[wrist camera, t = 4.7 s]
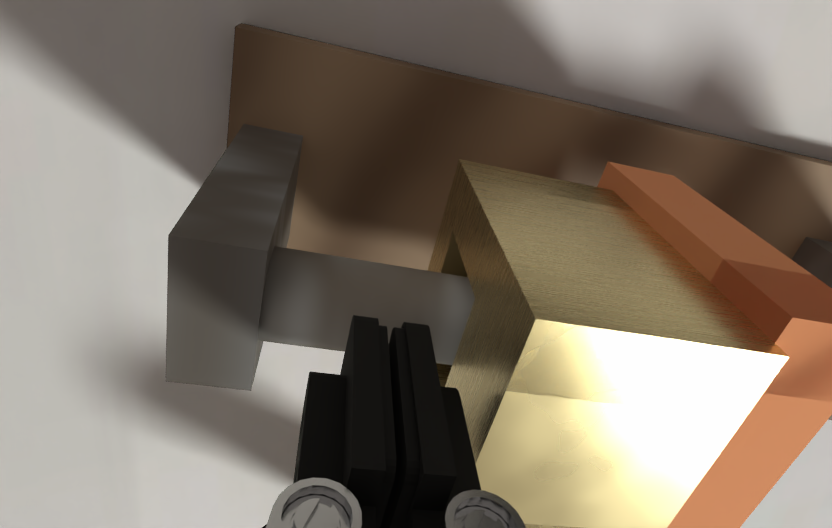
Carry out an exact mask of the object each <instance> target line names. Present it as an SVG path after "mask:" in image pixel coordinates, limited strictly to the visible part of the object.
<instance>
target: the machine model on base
mask: <svg viewBox="0 0 832 528" xmlns="http://www.w3.org/2000/svg"><path fill="white" fill-rule="evenodd" d="M459 159H462V160H467V161H472V162H476V163H481V164H486V165H491V166H496V167H501V168H506V169H511V170H516V171H521V172H525V173H530V174H535V175H540V176H545V177H550V178H555V179H560V180H565V181H570V182H574V183H579V184H584V185H589V186H594V187H597V186H598V184H599V181H600V179H601V176H602V174H603V172H604V169H605V167H606V165H607V162H613V163H618V164H622V165H627V166H632V167H636V168H641V169H646V170H650V171H655V172H660V173H664V174H669V175H674V176H675V177H676V178H678V179H679V180H681V181H682V182H683V183H685V184H686V185H688V186H689V187H690V188H692V189H693V190H695V191H696V192H697V193H699V194H700V195H702V196H703V197H704V198H706V199H707V200H709V201H710V202H711V203H713V204H714V205H716V206H717V207H718V208H720V209H721V210H723V211H724V212H725V213H727V214H728V215H730V216H731V217H732V218H734V219H735V220H737V221H738V222H739V223H741V224H742V225H744V226H745V227H746V228H748V229H749V230H751V231H752V232H753V233H755V234H756V235H758V236H759V237H760V238H762V239H763V240H765V241H766V242H767V243H769V244H770V245H772V246H773V247H775V248H776V249H777V250H779V251H780V252H782V253H783V254H784V255H786V256H787V257H789V258H790V259H791V260H793V261H794V262H796V263H797V264H798V265H800V266H801V267H803V268H804V269H805V270H807V271H808V272H810V273H811V274H812V275H814V276H815V277H817V278H818V279H819V280H821V281H822V282H824V283H825V284H826V285H828V286H829V287H831V288H832V162H829V161H825V160H820V159H816V158H812V157H808V156H803V155H799V154H795V153H791V152H786V151H782V150H778V149H774V148H769V147H765V146H761V145H757V144H752V143H748V142H744V141H740V140H735V139H731V138H727V137H723V136H718V135H714V134H710V133H706V132H701V131H697V130H693V129H689V128H684V127H680V126H676V125H672V124H667V123H663V122H659V121H655V120H650V119H646V118H642V117H638V116H633V115H629V114H625V113H621V112H616V111H612V110H608V109H604V108H599V107H595V106H591V105H587V104H582V103H578V102H574V101H570V100H565V99H561V98H557V97H553V96H548V95H544V94H540V93H536V92H531V91H527V90H523V89H519V88H514V87H510V86H506V85H502V84H497V83H493V82H489V81H485V80H480V79H476V78H472V77H468V76H463V75H459V74H455V73H451V72H446V71H442V70H438V69H434V68H429V67H425V66H421V65H417V64H412V63H408V62H404V61H400V60H395V59H391V58H387V57H383V56H378V55H374V54H370V53H366V52H361V51H357V50H353V49H349V48H344V47H340V46H336V45H332V44H327V43H323V42H319V41H315V40H310V39H306V38H302V37H298V36H293V35H289V34H285V33H281V32H276V31H272V30H268V29H264V28H259V27H255V26H251V25H247V24H242V23H241V24H239V25H238V26H236V27H235V38H234V53H233V67H232V81H231V95H230V109H229V123H228V137H227V150H226V151H225V152H224V154H223V155H222V157H221V158H220V160H219V161H218V163H217V164H216V166H215V167H214V169H213V170H212V172H211V173H210V175H209V176H208V178H207V179H206V181H205V182H204V184H203V185H202V187H201V188H200V190H199V191H198V192H197V194H196V195H195V197H194V198H193V200H192V201H191V203H190V204H189V206H188V207H187V209H186V210H185V212H184V213H183V215H182V216H181V218H180V219H179V221H178V222H177V224H176V225H175V227H174V228H173V229H172V231H171V232H170V234H169V238H168V289H167V339H166V381H168V382H177V383H186V384H195V385H205V386H214V387H223V388H232V389H241V390H250V391H251V389H252V385H253V381H254V377H255V373H256V368H257V364H258V360H259V356H260V352H261V348H262V344H263V341H267V342H274V343H282V344H290V345H298V346H306V347H314V348H321V349H329V350H337V351H345V350H346V345H347V340H348V335H349V330H350V325H351V321H352V317H353V315H357V316H364V317H372V318H378V320H379V325H382V326H387V331H388V344H389V341H390V337H391V333H392V329H393V328H394V327H397V328H401V327H402V324H403V323H404V322H409V323H417V324H424V325H428V326H429V328H430V332H431V338H432V343H433V349H434V354H435V359H436V363H439V364H447V365H452V364H453V361H454V359H455V356H456V353H457V350H458V347H459V344H460V341H461V338H462V335H463V332H464V329H465V326H466V323H467V321H468V318H469V315H470V312H471V309H472V306H473V303H474V300H475V297H474V294H473V291H472V288H471V285H470V282H469V279H468V277H464V276H457V275H451V274H445V273H439V272H433V271H427V270H428V267H429V263H430V260H431V256H432V253H433V249H434V246H435V242H436V239H437V235H438V232H439V228H440V225H441V221H442V218H443V214H444V211H445V207H446V203H447V200H448V196H449V193H450V189H451V186H452V182H453V179H454V175H455V172H456V168H457V165H458V161H459ZM829 420H832V415H831V416H830V417H829Z"/></svg>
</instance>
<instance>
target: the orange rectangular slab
mask: <svg viewBox="0 0 832 528" xmlns="http://www.w3.org/2000/svg"><path fill="white" fill-rule="evenodd" d="M597 187H599V188H604V189H609V190H613V191H614V192H615V193H616V194H617V195H618V196H619V197H620V198H622V199H623V200H624V201H625V202H626V203H627V204H628V205H629V206H630V207H631V208H632V209H633V210H634V211H635V212H636V213H637V214H639V215H640V216H641V217H642V218H643V219H644V220H645V221H646V222H647V223H648V224H649V225H650V226H651V227H652V228H653V229H654V230H655V231H657V232H658V233H659V234H660V235H661V236H662V237H663V238H664V239H665V240H666V241H667V242H668V243H669V244H670V245H671V246H672V247H674V248H675V249H676V250H677V251H678V252H679V253H680V254H681V255H682V256H683V257H684V258H685V259H686V260H687V261H688V262H689V263H691V264H692V265H693V266H694V267H695V268H696V269H697V270H698V271H699V272H700V273H701V274H702V275H703V276H704V277H705V278H706V279H707V280H709V281H710V282H711V283H712V284H713V285H714V286H715V287H716V288H717V289H718V290H719V291H720V292H721V293H722V294H723V295H724V296H726V297H727V298H728V299H729V300H730V301H731V302H732V303H733V304H734V305H735V306H736V307H737V308H738V309H739V310H740V311H741V312H742V313H744V314H745V315H746V316H747V317H748V318H749V319H750V320H751V321H752V322H753V323H754V324H755V325H756V326H757V327H758V328H759V329H761V330H762V331H763V332H764V333H765V334H766V335H767V336H768V337H769V338H770V339H771V340H772V341H773V342H774V343H775V344H776V345H778V346H779V347H780V348H781V349H782V350H783V351H784V352H785V353H786V354H787V355H788V356H789V358H788V359H787V361H786V362H785V364H784V365H783V366H782V368H781V369H780V371H779V372H778V373H777V375H776V376H775V378H774V379H773V380H772V382H771V383H770V385H769V386H768V387H767V389H766V390H765V392H764V393H763V394H762V396H761V397H760V399H759V400H758V401H757V403H756V404H755V406H754V407H753V408H752V410H751V411H750V413H749V414H748V415H747V417H746V418H745V419H744V421H743V422H742V424H741V425H740V426H739V428H738V429H737V431H736V432H735V433H734V435H733V436H732V438H731V439H730V440H729V442H728V443H727V445H726V446H725V447H724V449H723V450H722V452H721V453H720V454H719V456H718V457H717V459H716V460H715V461H714V463H713V464H712V466H711V467H710V468H709V470H708V471H707V473H706V474H705V475H704V477H703V478H702V480H701V481H700V482H699V484H698V485H697V487H696V488H695V489H694V491H693V492H692V494H691V495H690V496H689V498H688V499H687V501H686V502H685V503H684V505H683V506H682V508H681V509H680V510H679V512H678V513H677V514H676V516H675V517H674V519H673V520H672V521H671V523H670V524H669V526H668V527H667V528H740V527H741V525H742V524H743V523H744V522H745V520H746V519H747V518H748V517H749V515H750V514H751V513H752V512H753V511H754V509H755V508H756V507H757V506H758V504H759V503H760V502H761V501H762V500H763V498H764V497H765V496H766V495H767V493H768V492H769V491H770V490H771V489H772V487H773V486H774V485H775V484H776V482H777V481H778V480H779V479H780V477H781V476H782V475H783V474H784V473H785V471H786V470H787V469H788V468H789V466H790V465H791V464H792V463H793V462H794V460H795V459H796V458H797V457H798V455H799V454H800V453H801V452H802V451H803V449H804V448H805V447H806V446H807V444H808V443H809V442H810V441H811V439H812V438H813V437H814V436H815V435H816V433H817V432H818V431H819V430H820V428H821V427H822V426H823V425H824V424H825V422H826V421H827V420H828V419H829V417H830V416H831V415H832V288H831V287H829V286H828V285H826V284H825V283H824V282H822V281H821V280H819V279H818V278H817V277H815V276H814V275H812V274H811V273H810V272H808V271H807V270H805V269H804V268H803V267H801V266H800V265H798V264H797V263H796V262H794V261H793V260H791V259H790V258H789V257H787V256H786V255H784V254H783V253H782V252H780V251H779V250H777V249H776V248H775V247H773V246H772V245H770V244H769V243H767V242H766V241H765V240H763V239H762V238H760V237H759V236H758V235H756V234H755V233H753V232H752V231H751V230H749V229H748V228H746V227H745V226H744V225H742V224H741V223H739V222H738V221H737V220H735V219H734V218H732V217H731V216H730V215H728V214H727V213H725V212H724V211H723V210H721V209H720V208H718V207H717V206H716V205H714V204H713V203H711V202H710V201H709V200H707V199H706V198H704V197H703V196H702V195H700V194H699V193H697V192H696V191H695V190H693V189H692V188H690V187H689V186H688V185H686V184H685V183H683V182H682V181H681V180H679V179H678V178H676V177H675V176H674V175H669V174H664V173H660V172H655V171H650V170H646V169H641V168H636V167H632V166H627V165H622V164H618V163H613V162H607V165H606V167H605V169H604V172H603V174H602V176H601V179H600V181H599V184H598V186H597Z"/></svg>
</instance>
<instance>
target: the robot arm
mask: <svg viewBox="0 0 832 528" xmlns="http://www.w3.org/2000/svg"><path fill="white" fill-rule="evenodd" d="M262 528H526V526H525V524H524V522H523V520H522V519H521V517H520V515H519V514H518V512H517V511H516V510H515V509H514V508H513V507H512V506H511V505H510V504H509V503H508V502H507V501H505V500H504V499H502V498H501V497H499V496H498V495H496V494H493V493H490V492H487V491H484V490H481V486H480V482H479V478H478V473H477V469H476V464H475V460H474V455H473V451H472V446H471V442H470V437H469V433H468V429H467V424H466V420H465V415H464V411H463V406H462V402H461V397H460V394H459V391H458V390H457V389H456V388H451V387H442V386H440V381H439V376H438V370H437V365H436V359H435V354H434V349H433V343H432V338H431V332H430V328H429V326H428V325H424V324H417V323H409V322H404V323H403V324H402V327H401V328H397V327H394V328H393V329H392V333H391V337H390V341H389V344H388V331H387V326H382V325H379V320H378V318H372V317H364V316H357V315H353V317H352V321H351V325H350V330H349V335H348V340H347V345H346V350H345V354H344V359H343V364H342V369H341V374H340V375H335V374H326V373H317V372H310V373H309V378H308V383H307V389H306V395H305V401H304V407H303V414H302V421H301V428H300V435H299V443H298V451H297V459H296V467H295V475H294V482H293V484H292V485H290V486H288V487H287V488H286V489H285V490H284V491H283V492H282V493H281V494H280V495H279V496H278V498H277V500H276V502H275V504H274V505H273V508H272V511H271V514H270V517H269V520H268V523H267V524H266V525H265V526H264V527H262Z"/></svg>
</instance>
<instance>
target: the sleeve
mask: <svg viewBox="0 0 832 528" xmlns="http://www.w3.org/2000/svg"><path fill="white" fill-rule="evenodd" d="M427 271H433V272H439V273H445V274H451V275H457V276H464V277H468V279H469V282H470V285H471V288H472V291H473V294H474V297H475V300H474V303H473V306H472V309H471V312H470V315H469V318H468V321H467V323H466V326H465V329H464V332H463V335H462V338H461V341H460V344H459V347H458V350H457V353H456V356H455V359H454V361H453V364H452V365H447V364H439V363H436V365H437V370H438V376H439V381H440V386H442V387H451V388H456V389H457V390H458V391H459V394H460V397H461V402H462V406H463V411H464V415H465V420H466V424H467V429H468V433H469V437H470V442H471V446H472V451H473V455H474V460H475V464H476V469H477V473H478V478H479V482H480V486H481V490H484V491H487V492H490V493H493V494H496V495H498V496H499V497H501V498H502V499H504V500H505V501H507V502H508V503H509V504H510V505H511V506H512V507H513V508H514V509H515V510H516V511H517V512H518V514H519V515H520V517H521V519H522V520H523V522H524V524H525V526H526V528H667V527H668V526H669V524H670V523H671V521H672V520H673V519H674V517H675V516H676V514H677V513H678V512H679V510H680V509H681V508H682V506H683V505H684V503H685V502H686V501H687V499H688V498H689V496H690V495H691V494H692V492H693V491H694V489H695V488H696V487H697V485H698V484H699V482H700V481H701V480H702V478H703V477H704V475H705V474H706V473H707V471H708V470H709V468H710V467H711V466H712V464H713V463H714V461H715V460H716V459H717V457H718V456H719V454H720V453H721V452H722V450H723V449H724V447H725V446H726V445H727V443H728V442H729V440H730V439H731V438H732V436H733V435H734V433H735V432H736V431H737V429H738V428H739V426H740V425H741V424H742V422H743V421H744V419H745V418H746V417H747V415H748V414H749V413H750V411H751V410H752V408H753V407H754V406H755V404H756V403H757V401H758V400H759V399H760V397H761V396H762V394H763V393H764V392H765V390H766V389H767V387H768V386H769V385H770V383H771V382H772V380H773V379H774V378H775V376H776V375H777V373H778V372H779V371H780V369H781V368H782V366H783V365H784V364H785V362H786V361H787V359H788V358H789V356H788V355H787V354H786V353H785V352H784V351H783V350H782V349H781V348H780V347H779V346H778V345H776V344H775V343H774V342H773V341H772V340H771V339H770V338H769V337H768V336H767V335H766V334H765V333H764V332H763V331H762V330H761V329H759V328H758V327H757V326H756V325H755V324H754V323H753V322H752V321H751V320H750V319H749V318H748V317H747V316H746V315H745V314H744V313H742V312H741V311H740V310H739V309H738V308H737V307H736V306H735V305H734V304H733V303H732V302H731V301H730V300H729V299H728V298H727V297H726V296H724V295H723V294H722V293H721V292H720V291H719V290H718V289H717V288H716V287H715V286H714V285H713V284H712V283H711V282H710V281H709V280H707V279H706V278H705V277H704V276H703V275H702V274H701V273H700V272H699V271H698V270H697V269H696V268H695V267H694V266H693V265H692V264H691V263H689V262H688V261H687V260H686V259H685V258H684V257H683V256H682V255H681V254H680V253H679V252H678V251H677V250H676V249H675V248H674V247H672V246H671V245H670V244H669V243H668V242H667V241H666V240H665V239H664V238H663V237H662V236H661V235H660V234H659V233H658V232H657V231H655V230H654V229H653V228H652V227H651V226H650V225H649V224H648V223H647V222H646V221H645V220H644V219H643V218H642V217H641V216H640V215H639V214H637V213H636V212H635V211H634V210H633V209H632V208H631V207H630V206H629V205H628V204H627V203H626V202H625V201H624V200H623V199H622V198H620V197H619V196H618V195H617V194H616V193H615V192H614V191H613V190H609V189H604V188H599V187H594V186H589V185H584V184H579V183H574V182H570V181H565V180H560V179H555V178H550V177H545V176H540V175H535V174H530V173H525V172H521V171H516V170H511V169H506V168H501V167H496V166H491V165H486V164H481V163H476V162H472V161H467V160H462V159H459V161H458V165H457V168H456V172H455V175H454V179H453V182H452V186H451V189H450V193H449V196H448V200H447V203H446V207H445V211H444V214H443V218H442V221H441V225H440V228H439V232H438V235H437V239H436V242H435V246H434V249H433V253H432V256H431V260H430V263H429V267H428V270H427Z"/></svg>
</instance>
